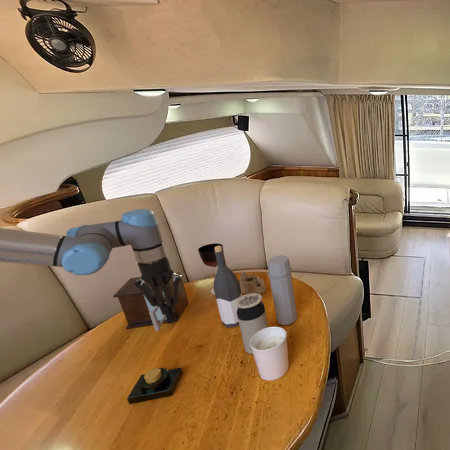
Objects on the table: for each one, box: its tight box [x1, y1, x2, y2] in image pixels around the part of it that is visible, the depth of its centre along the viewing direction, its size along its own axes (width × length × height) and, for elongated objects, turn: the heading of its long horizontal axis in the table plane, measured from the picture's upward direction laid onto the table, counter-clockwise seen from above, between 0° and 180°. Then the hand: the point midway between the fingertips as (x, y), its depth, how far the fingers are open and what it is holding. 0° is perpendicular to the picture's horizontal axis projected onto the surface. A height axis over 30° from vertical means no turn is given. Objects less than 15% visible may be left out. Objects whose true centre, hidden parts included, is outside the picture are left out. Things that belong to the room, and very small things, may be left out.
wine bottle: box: [213, 246, 243, 328], centre depth 109 cm, size 8×8×30 cm
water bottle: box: [266, 254, 298, 326], centre depth 111 cm, size 9×8×25 cm
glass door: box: [143, 292, 167, 332], centre depth 107 cm, size 7×10×12 cm, turn 16°
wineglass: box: [197, 242, 225, 296], centre depth 130 cm, size 8×9×20 cm
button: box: [144, 367, 162, 384], centre depth 86 cm, size 4×4×2 cm
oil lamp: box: [239, 271, 267, 295], centre depth 130 cm, size 11×15×8 cm
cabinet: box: [112, 272, 190, 330], centre depth 115 cm, size 16×12×14 cm
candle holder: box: [250, 326, 290, 382], centre depth 91 cm, size 10×10×12 cm
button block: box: [126, 367, 184, 405], centre depth 87 cm, size 10×8×4 cm
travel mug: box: [236, 293, 269, 355], centre depth 99 cm, size 8×8×18 cm
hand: (172, 320), depth 105 cm, fingers closed
